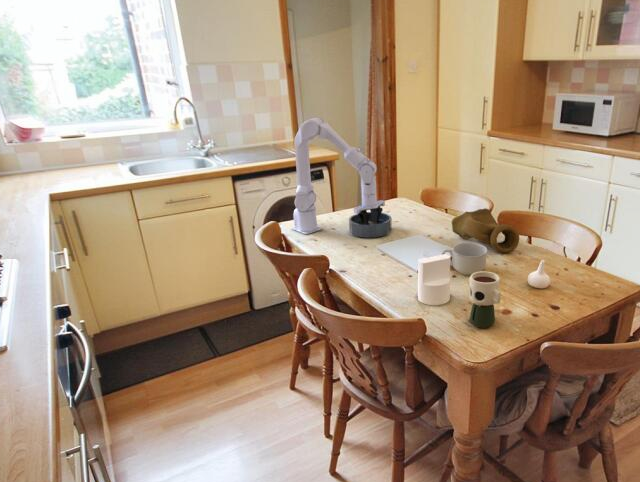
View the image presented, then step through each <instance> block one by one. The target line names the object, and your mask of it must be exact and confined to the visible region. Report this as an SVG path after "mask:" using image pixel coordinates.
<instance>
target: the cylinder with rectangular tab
mask: <svg viewBox="0 0 640 482" xmlns="http://www.w3.org/2000/svg"><path fill="white" fill-rule="evenodd" d="M450 260H451V256H450V255H448V254H446V253H445V254H443V255H441V254H438V255H434V256H429V257H423V258H419V259H417V300H418V302H420V303H422V304H424V305H428V306H442V305H445V304H447V303H448V302H449V301H450V299H451V298H450V297H451V265H450Z"/></svg>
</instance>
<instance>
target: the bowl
mask: <svg viewBox="0 0 640 482" xmlns="http://www.w3.org/2000/svg"><path fill="white" fill-rule="evenodd" d="M366 212H367V213H370V216H369V221H371V222H372V215H371V211H366ZM348 226H349V227H348V228H349V233H350V234H351V235H352V236H355V237H359V238H366V239H373V238H374V239H375V238H379V237H384V236H386V235H388V234H391V232H392V230H393V220H392V216H391V215H390V214H388V213H385V212H381V214H380V217H379V220H378V224H371V225H364V224H361V219H360V217H359V215H358V214H356V213H354V214H353V215H351V216H350V217H349V218H348Z"/></svg>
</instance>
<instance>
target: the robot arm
mask: <svg viewBox="0 0 640 482" xmlns="http://www.w3.org/2000/svg"><path fill="white" fill-rule="evenodd" d="M315 137H317V139H321V140H322V139H323V140H327V141H329V142H330V143H331V144H332V145H333V146H335V148H336V149H338V150H339V151H340V152H342V153H343V155H344V156H343V158H344V159H345V161H346V162H348V163H349V164H350V165H351V166H352V167H353V168H354V169H355V170H357V171H358V174H359V177H360V186H361V188H360V189H361V204H360V205H358V206H356V207H353V214H358V215H359V217H360V219H361V221H362V224H364V225H369V216H370V213H367V212H368V211H369V212H371V215H372V222H374V223H377V224H378V220H379V217H380V214H381V213H383V211H384V210H383V207H385V206H386V201H385V200H382V199H381V200H378V194H377V177H376V173H377V169H378V168H377V167H378V166H377V164H376V163H375V161H374V160H372V159H370V158H369V157H367V156H365V155H364V154H363V153H362V152H361V149H360V148H359V147H357V148H356V147H355V146H350V145H349V144H348V143H347V142H346V141H345V139H343V137H341V136H340V135H339V134H338V133H337V132H336V131H335V130H334V129H333V128H332V127H331V126H330V124H329V123H327V122H326V121H324V119H323V118H321V117H319V116H315V117H312V118H310V119H307V120H305V121H304V122H302V123H301V124H300V125H299V129H298V131H297V132H296V135H295V137H294V139H293V143H294V155H295V167H296V168H295V169H296V177H297V178H296V179H297V187H296V191H295V198H294V202H293V203H294V206H295V209H294V211H293V214H292V215H293V224H294V225H293V226H294V227H292V230H294V231H296V232H298V233H301V234H304V235H308V234H312V233H315V232H319V231H322V230H323V228H322V227H319V226H318V221H317V220H318V219H317V210H316V205H315V203H316V201H317V195H316V193H315V191H314V187H313V185H312V176H311V163H310V162H311V161H310V146H309V145H310V143H311V141H313V140H314V138H315Z"/></svg>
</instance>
